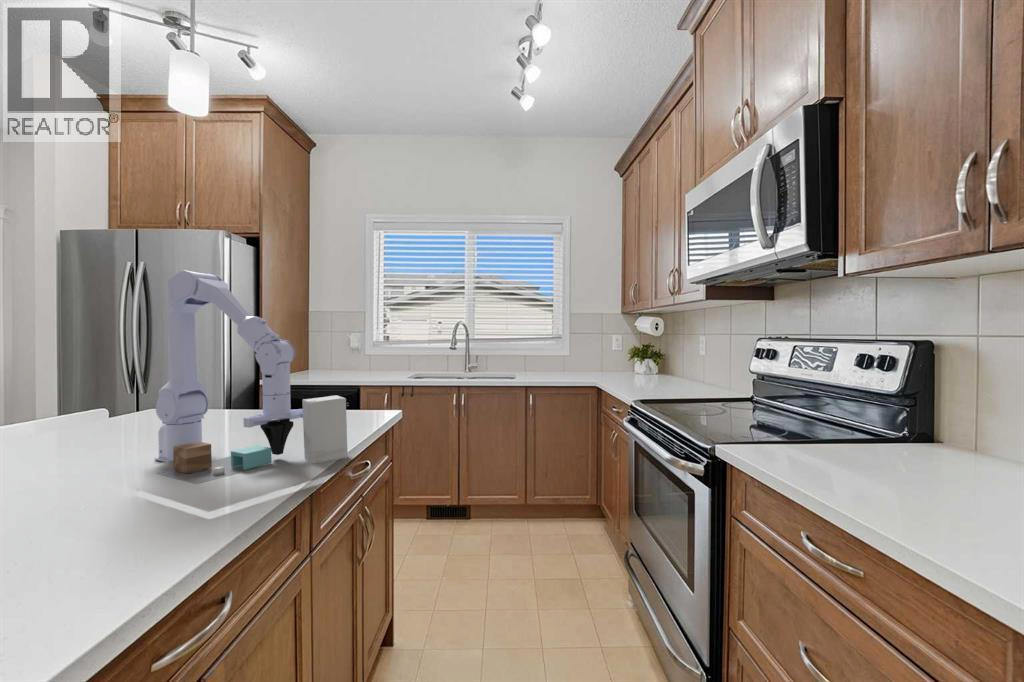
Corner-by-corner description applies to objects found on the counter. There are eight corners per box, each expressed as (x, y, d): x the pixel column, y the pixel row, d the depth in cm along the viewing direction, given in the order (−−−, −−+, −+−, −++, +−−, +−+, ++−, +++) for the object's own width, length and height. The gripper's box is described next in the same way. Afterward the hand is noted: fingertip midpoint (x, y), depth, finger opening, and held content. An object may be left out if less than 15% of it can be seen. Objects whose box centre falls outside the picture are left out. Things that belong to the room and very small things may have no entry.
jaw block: (173, 470, 105) (173, 446, 104) (198, 464, 109) (198, 441, 109) (186, 473, 102) (186, 448, 102) (211, 467, 106) (211, 444, 106)
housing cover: (231, 466, 107) (230, 451, 107) (257, 460, 112) (257, 445, 112) (245, 469, 105) (244, 453, 104) (271, 462, 110) (271, 447, 110)
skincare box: (339, 457, 119) (338, 394, 119) (348, 462, 115) (347, 397, 114) (302, 463, 114) (301, 397, 114) (311, 468, 109) (310, 400, 109)
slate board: (156, 477, 103) (155, 460, 103) (232, 460, 117) (232, 445, 117) (196, 489, 96) (196, 470, 96) (273, 468, 110) (272, 452, 109)
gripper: (257, 399, 105) (258, 463, 105) (315, 391, 118) (316, 449, 118) (237, 396, 109) (238, 459, 109) (295, 389, 121) (296, 445, 122)
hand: (277, 453), depth 114 cm, fingers closed
